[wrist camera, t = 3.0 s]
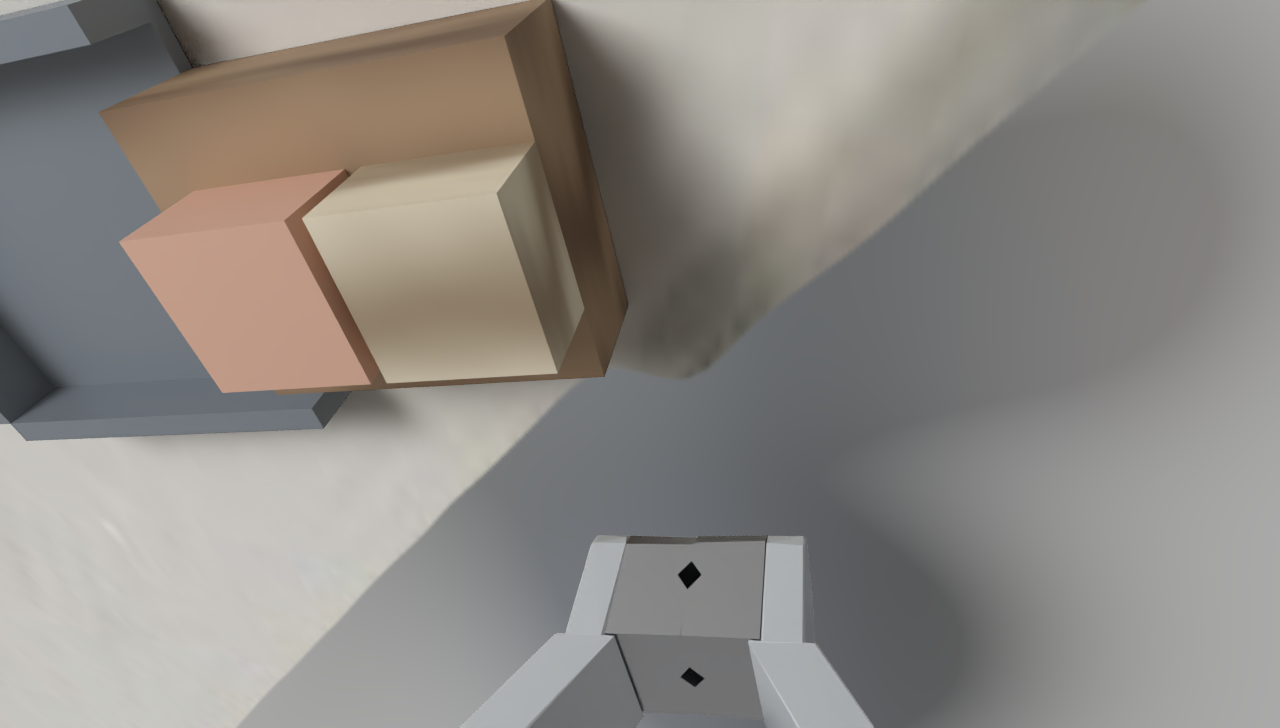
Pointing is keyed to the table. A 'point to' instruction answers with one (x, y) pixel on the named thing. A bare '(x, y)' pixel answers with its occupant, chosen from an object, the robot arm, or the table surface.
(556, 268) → the cream wooden block
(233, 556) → the table surface
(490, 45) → the brown wooden slab
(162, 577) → the table surface
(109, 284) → the tray
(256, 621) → the table surface
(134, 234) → the salmon pink square block
